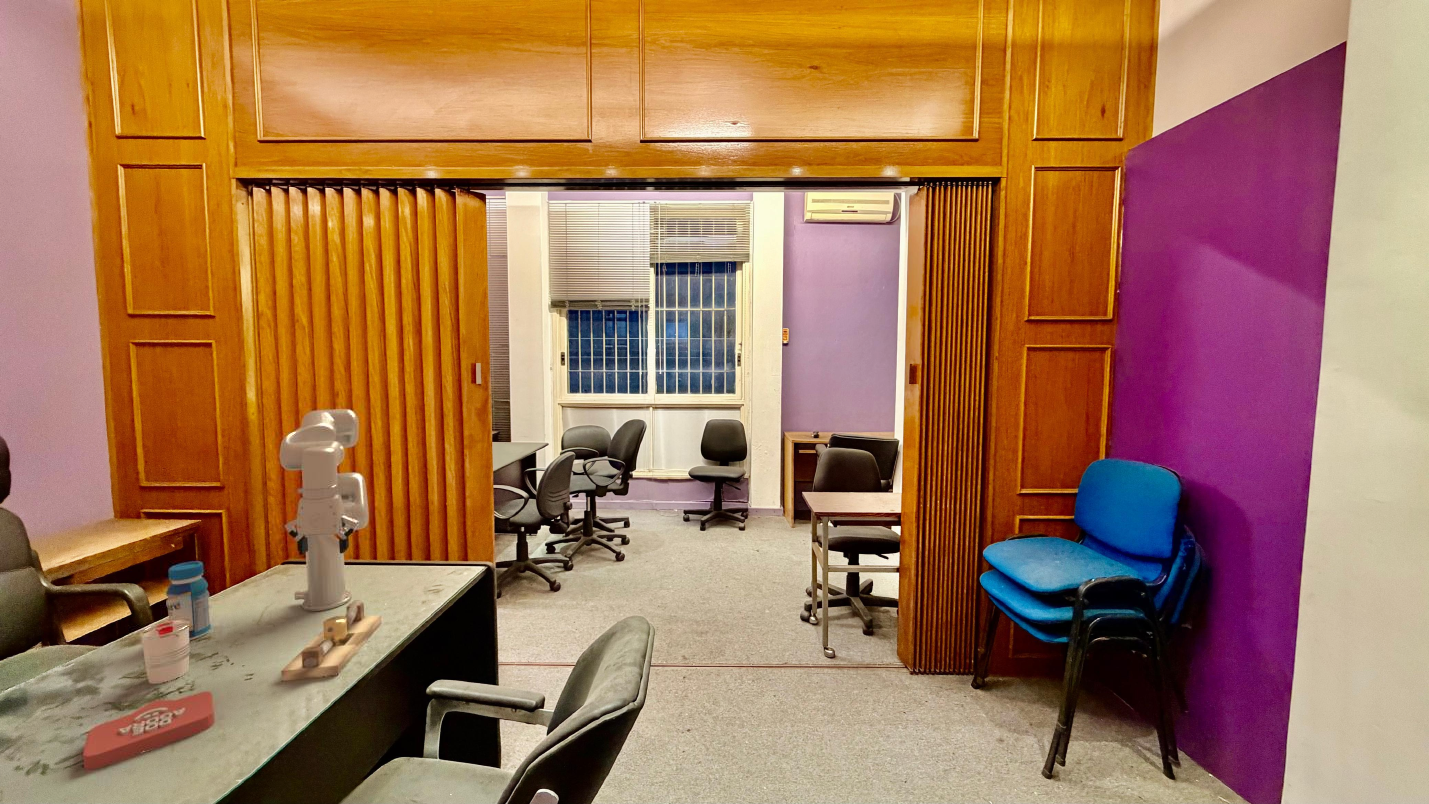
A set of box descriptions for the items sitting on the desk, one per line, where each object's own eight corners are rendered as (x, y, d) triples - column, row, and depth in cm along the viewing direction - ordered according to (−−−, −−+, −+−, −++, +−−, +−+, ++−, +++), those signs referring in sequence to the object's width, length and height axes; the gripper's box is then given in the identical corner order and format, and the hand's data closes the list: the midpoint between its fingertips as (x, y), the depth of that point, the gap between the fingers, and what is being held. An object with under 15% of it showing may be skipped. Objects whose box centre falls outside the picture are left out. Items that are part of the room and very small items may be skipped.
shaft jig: (281, 680, 126) (279, 649, 126) (335, 626, 152) (334, 600, 151) (338, 675, 129) (336, 644, 128) (381, 622, 154) (380, 596, 154)
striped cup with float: (203, 669, 131) (200, 623, 130) (158, 689, 123) (154, 640, 122) (178, 662, 134) (175, 616, 133) (133, 681, 126) (129, 632, 125)
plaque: (210, 680, 121) (214, 711, 110) (211, 696, 121) (215, 729, 111) (90, 718, 108) (81, 756, 97) (91, 735, 108) (82, 776, 98)
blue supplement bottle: (215, 633, 148) (210, 564, 146) (172, 646, 141) (166, 574, 139) (207, 624, 153) (203, 557, 151) (166, 636, 146) (160, 566, 144)
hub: (319, 657, 137) (317, 627, 136) (330, 645, 142) (329, 616, 142) (341, 654, 138) (339, 625, 137) (351, 643, 143) (350, 614, 143)
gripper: (275, 497, 137) (279, 559, 139) (350, 495, 141) (353, 556, 143) (291, 488, 145) (295, 548, 147) (362, 487, 148) (364, 545, 151)
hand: (323, 552), depth 145 cm, fingers open, 9 cm apart
